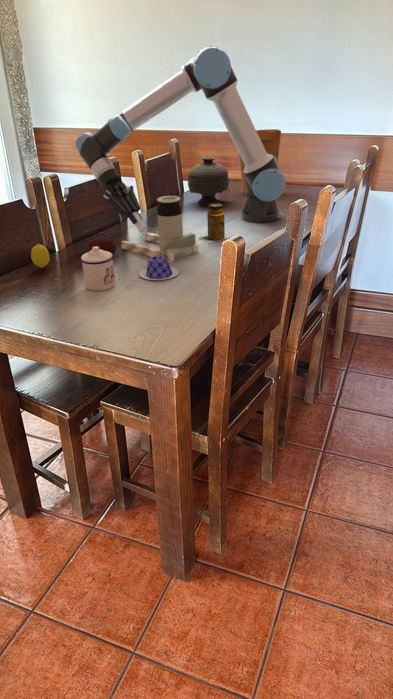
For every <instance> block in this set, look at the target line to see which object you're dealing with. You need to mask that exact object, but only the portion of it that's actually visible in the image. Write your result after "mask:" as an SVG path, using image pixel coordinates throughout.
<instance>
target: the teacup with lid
mask: <svg viewBox="0 0 393 699" xmlns="http://www.w3.org/2000/svg"><path fill="white" fill-rule="evenodd" d="M113 258H114V255H113V254H111V253H110V252H108V251H103V250H101V249H99V247H97V246H95V247H93V248H92V250H91V251H89V250H88V252H86V253H84V254H82V256H81V257H80V261H81V266H82V270H83V276H84V278H83V279H84V285H85V288H86V289H87V290H89V291H93V292H97V291H98V292H100V291H101V292H102V291H107V290H110V289H111V288H114V286H115V285H116V279H115V278H116V277H115V271H114V270H115V269H114V268H115V267H114V262H113Z"/></svg>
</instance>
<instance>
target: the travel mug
mask: <svg viewBox="0 0 393 699" xmlns="http://www.w3.org/2000/svg"><path fill="white" fill-rule="evenodd" d="M180 200H181V197H180V196H177V195H165V196H160V197H158V198H157V199H156V201H157V204H158V206H157V208H156V211H157V213H156V214H157V215H156V216H157V230H158V235H159V243H158V244H159V250H161V251H164V247H163V243H164V242H167V241H170V240H173V239H175V238H178V237H181V236H184V232H183V231H184V228H183V212H182V211H183V210H182V207H181V204H180Z"/></svg>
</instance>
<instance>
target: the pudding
mask: <svg viewBox="0 0 393 699" xmlns="http://www.w3.org/2000/svg"><path fill="white" fill-rule="evenodd" d="M179 273H180V272H179V269H178V268H176V267H173V266H171V265H170V262H169V261H168V259H167V258H166V257H163V256H154V257H150V258H149V259H148V261H147V267H146V268H143V269H142V270H141V271H140V272H139V276H140V277H141V278H143V279H145V280H149V281H163V280H168V279H173V278H174V277H176V276H178V274H179Z"/></svg>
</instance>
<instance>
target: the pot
mask: <svg viewBox="0 0 393 699" xmlns="http://www.w3.org/2000/svg"><path fill="white" fill-rule="evenodd" d="M200 159H201V160H202V161H203V162H201V163H198V164H196V165H194V166H193V167H191V168H190V170H188V173H187V186H188V189H189V193H190V194H199V195H201V198H200V199H199V200H198V201H197V203H196V205H198V206H201V207H208V206H209V205H210V204H214V203H219V204H221V201H220V199H217V197H216V195H217V194H221V193H222V192H224V191H227V190H228V188H229V172H228V170H227V168H225V166H223V165H222V164H219V163H216V162H213V161H214V160H215V159H216V157H213V156H202V157H200Z"/></svg>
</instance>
